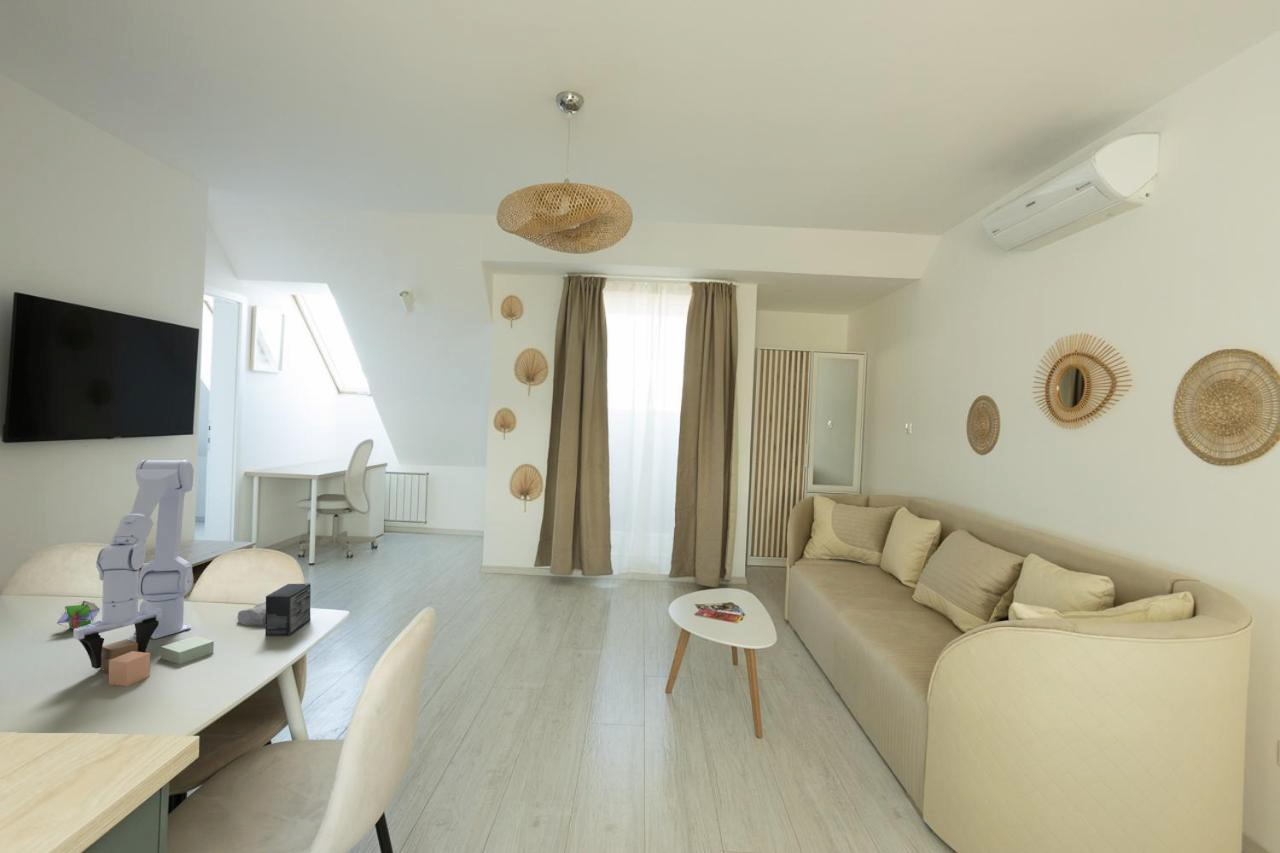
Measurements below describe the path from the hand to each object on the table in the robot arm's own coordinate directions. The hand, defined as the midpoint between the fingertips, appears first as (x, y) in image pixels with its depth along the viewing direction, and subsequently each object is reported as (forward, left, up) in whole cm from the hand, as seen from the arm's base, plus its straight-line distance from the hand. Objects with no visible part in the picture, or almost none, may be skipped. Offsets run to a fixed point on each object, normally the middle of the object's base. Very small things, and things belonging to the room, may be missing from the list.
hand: (119, 660), depth 121 cm
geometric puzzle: (-34, +6, -2) cm, 35 cm away
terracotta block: (+9, -2, -2) cm, 9 cm away
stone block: (-3, +33, -2) cm, 33 cm away
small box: (+10, +31, -2) cm, 33 cm away
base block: (+6, +10, -2) cm, 12 cm away
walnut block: (0, 0, -2) cm, 2 cm away
